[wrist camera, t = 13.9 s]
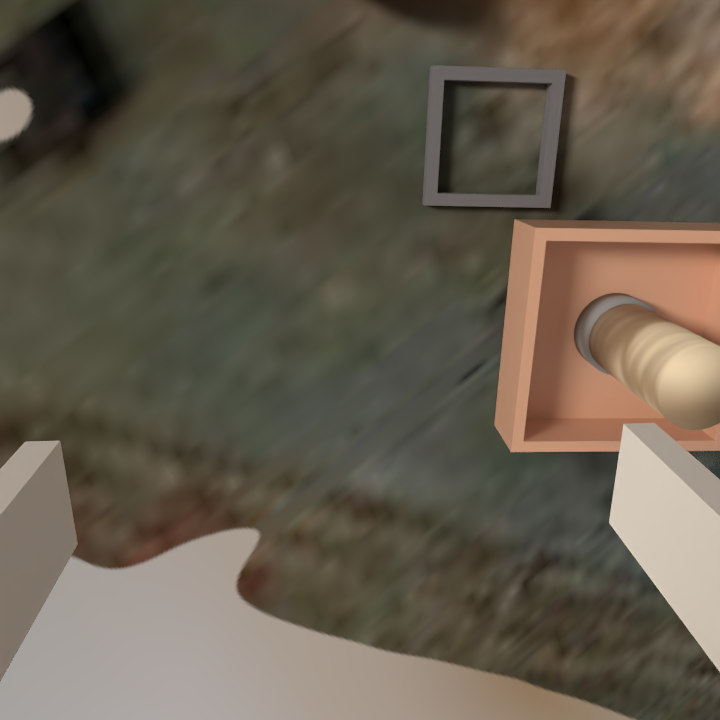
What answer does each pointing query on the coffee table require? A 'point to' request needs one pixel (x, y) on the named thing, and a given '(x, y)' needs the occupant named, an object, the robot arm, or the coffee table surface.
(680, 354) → the beige rounded cylinder
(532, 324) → the tray
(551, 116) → the gray square frame
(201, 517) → the coffee table surface
